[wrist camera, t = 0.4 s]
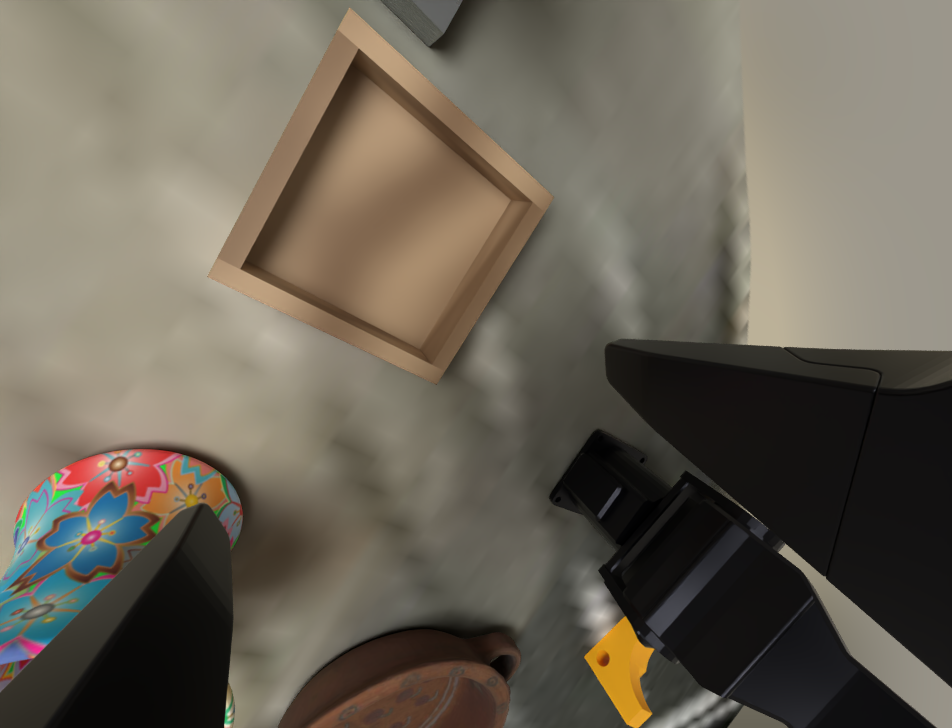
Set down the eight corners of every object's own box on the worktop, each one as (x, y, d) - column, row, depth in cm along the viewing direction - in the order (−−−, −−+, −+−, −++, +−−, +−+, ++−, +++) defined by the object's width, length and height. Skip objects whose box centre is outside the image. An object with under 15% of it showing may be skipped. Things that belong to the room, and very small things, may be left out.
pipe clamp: (600, 665, 45) (644, 731, 40) (582, 654, 43) (626, 724, 38) (679, 586, 46) (733, 641, 40) (666, 572, 43) (722, 628, 38)
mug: (205, 402, 20) (142, 589, 11) (279, 538, 24) (278, 752, 15) (-130, 507, 16) (-623, 903, 7) (25, 643, 21) (-170, 1000, 12)
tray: (525, 195, 22) (554, 197, 20) (420, 363, 23) (436, 384, 21) (339, 31, 17) (349, 7, 14) (217, 263, 18) (207, 276, 16)
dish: (161, 720, 26) (137, 826, 22) (484, 551, 31) (515, 609, 27) (281, 820, 34) (281, 911, 30) (520, 671, 40) (548, 730, 36)
